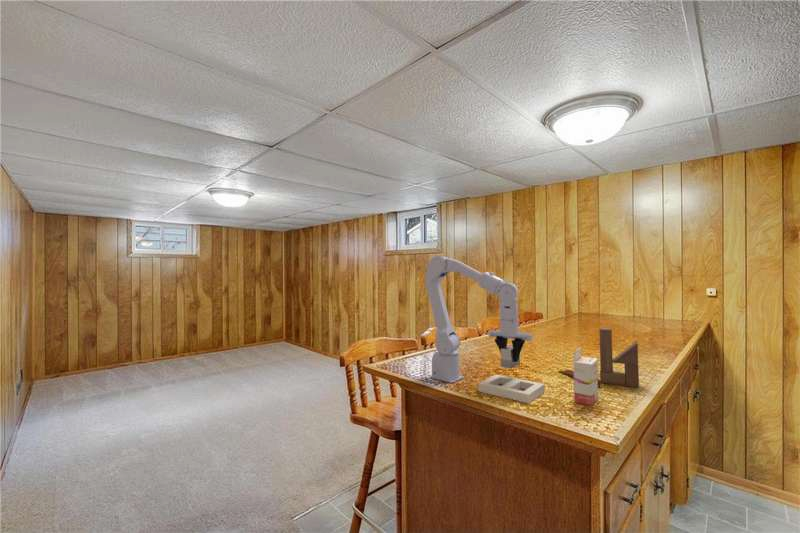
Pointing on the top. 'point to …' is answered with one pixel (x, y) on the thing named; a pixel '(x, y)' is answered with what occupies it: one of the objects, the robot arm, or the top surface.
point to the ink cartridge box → (585, 379)
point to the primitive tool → (571, 374)
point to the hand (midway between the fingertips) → (510, 360)
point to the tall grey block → (508, 357)
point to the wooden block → (626, 357)
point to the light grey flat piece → (512, 388)
